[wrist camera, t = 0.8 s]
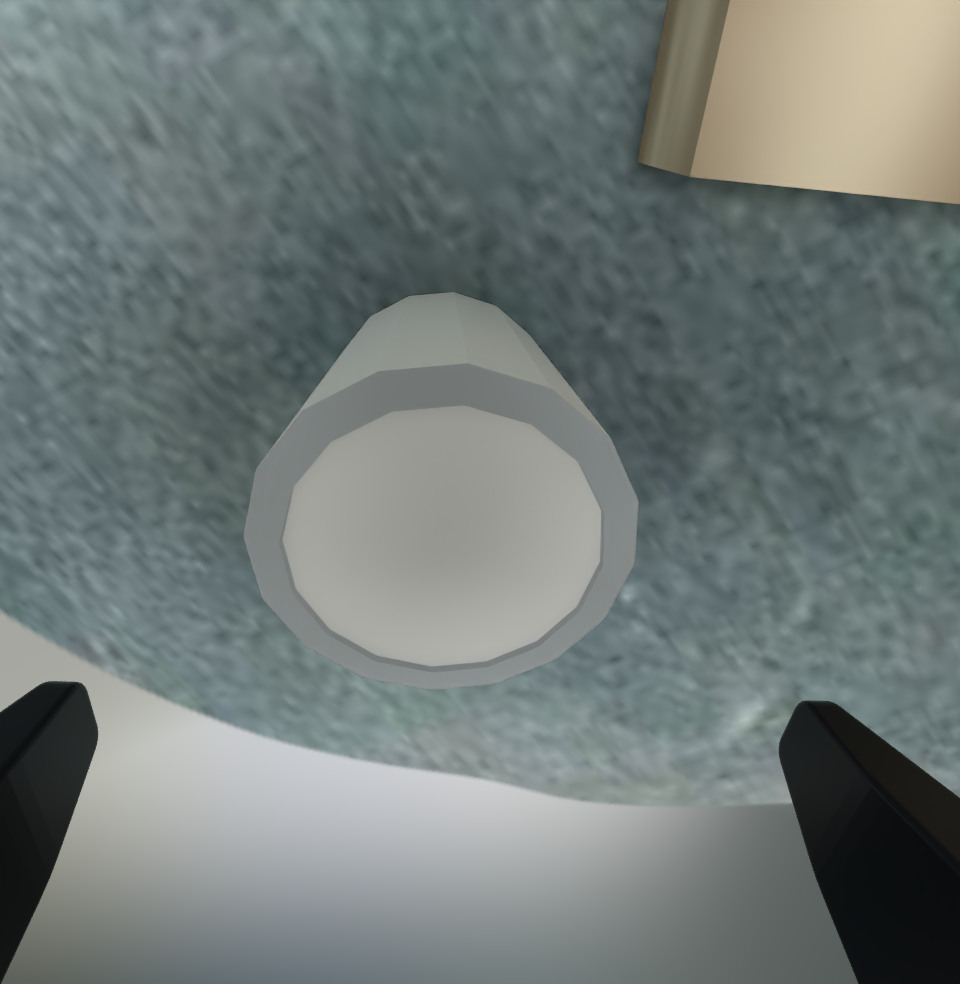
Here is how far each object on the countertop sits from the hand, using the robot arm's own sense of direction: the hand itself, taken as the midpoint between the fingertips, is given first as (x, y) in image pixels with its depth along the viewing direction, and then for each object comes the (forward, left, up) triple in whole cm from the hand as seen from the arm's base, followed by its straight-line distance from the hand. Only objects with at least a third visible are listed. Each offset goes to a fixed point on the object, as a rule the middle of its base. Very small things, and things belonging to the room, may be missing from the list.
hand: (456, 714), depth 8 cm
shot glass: (0, 0, -11) cm, 11 cm away
